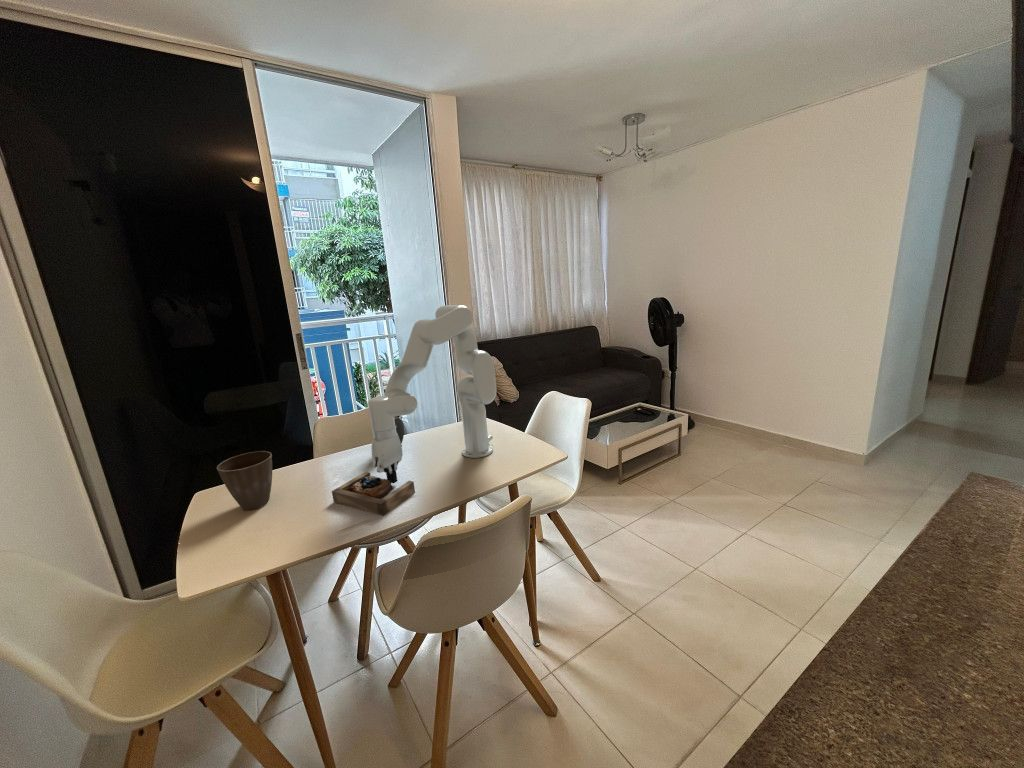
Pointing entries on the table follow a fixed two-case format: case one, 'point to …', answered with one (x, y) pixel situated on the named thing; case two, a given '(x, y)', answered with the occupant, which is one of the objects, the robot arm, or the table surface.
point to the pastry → (372, 487)
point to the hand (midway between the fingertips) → (392, 481)
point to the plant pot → (248, 478)
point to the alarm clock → (399, 428)
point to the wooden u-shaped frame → (371, 503)
